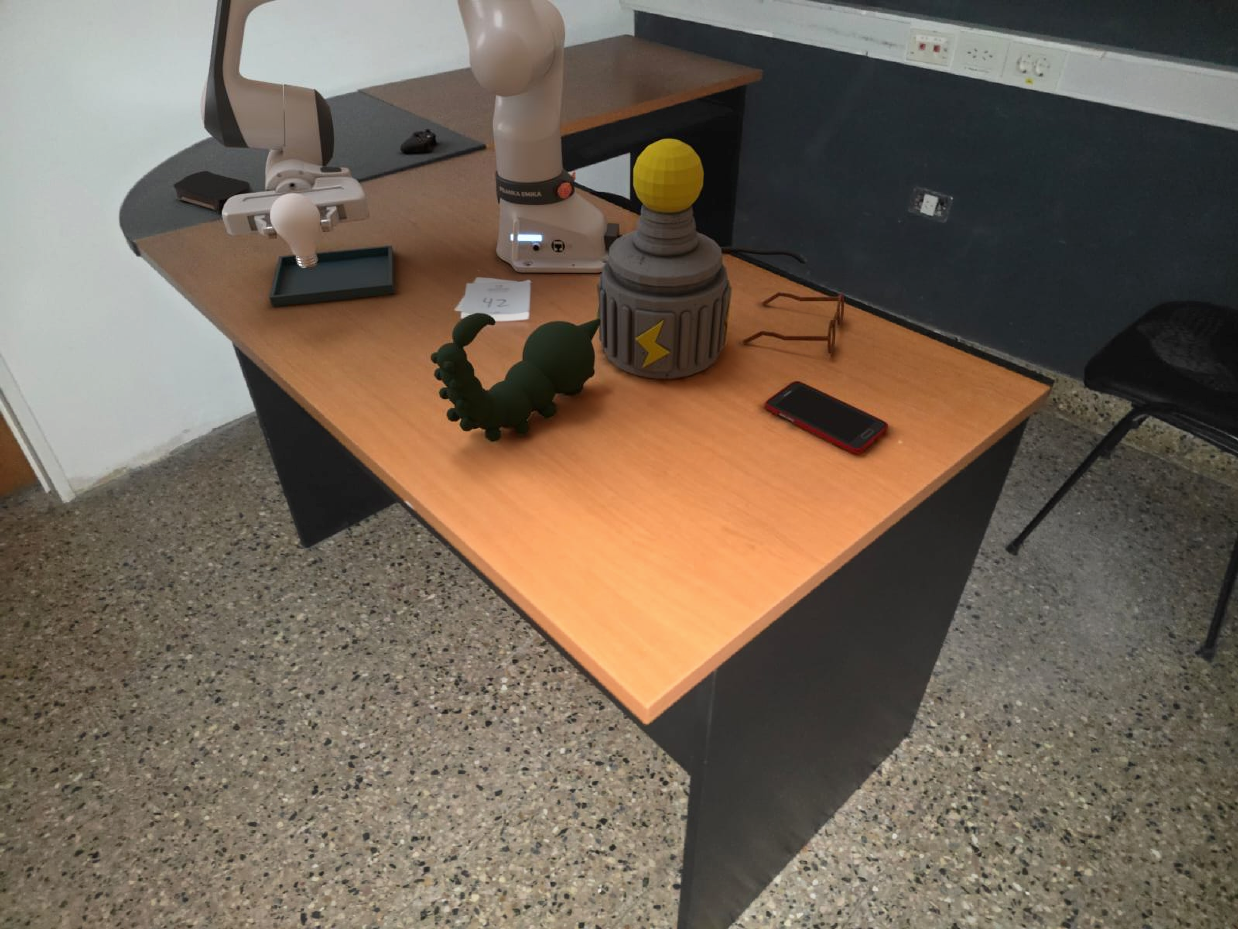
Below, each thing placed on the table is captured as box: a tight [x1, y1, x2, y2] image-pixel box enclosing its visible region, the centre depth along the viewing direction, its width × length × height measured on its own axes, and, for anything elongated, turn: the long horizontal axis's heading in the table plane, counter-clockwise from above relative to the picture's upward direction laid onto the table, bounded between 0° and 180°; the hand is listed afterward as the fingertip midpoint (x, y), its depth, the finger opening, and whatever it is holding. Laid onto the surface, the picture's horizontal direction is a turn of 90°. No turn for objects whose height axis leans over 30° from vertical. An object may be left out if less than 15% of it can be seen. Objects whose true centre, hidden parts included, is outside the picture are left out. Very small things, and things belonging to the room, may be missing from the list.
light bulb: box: [270, 193, 321, 269], centre depth 113 cm, size 7×7×11 cm
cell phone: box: [764, 380, 889, 455], centre depth 103 cm, size 8×15×1 cm, turn 46°
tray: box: [269, 244, 395, 308], centre depth 134 cm, size 19×15×2 cm
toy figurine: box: [430, 312, 601, 443], centre depth 99 cm, size 9×19×25 cm
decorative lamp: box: [595, 138, 733, 380], centre depth 108 cm, size 19×19×30 cm
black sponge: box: [173, 170, 254, 213], centre depth 159 cm, size 16×8×4 cm, turn 59°
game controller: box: [399, 128, 438, 154], centre depth 183 cm, size 10×5×6 cm
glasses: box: [742, 291, 845, 354], centre depth 119 cm, size 13×13×5 cm
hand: (298, 230), depth 112 cm, fingers closed on light bulb, 6 cm apart
